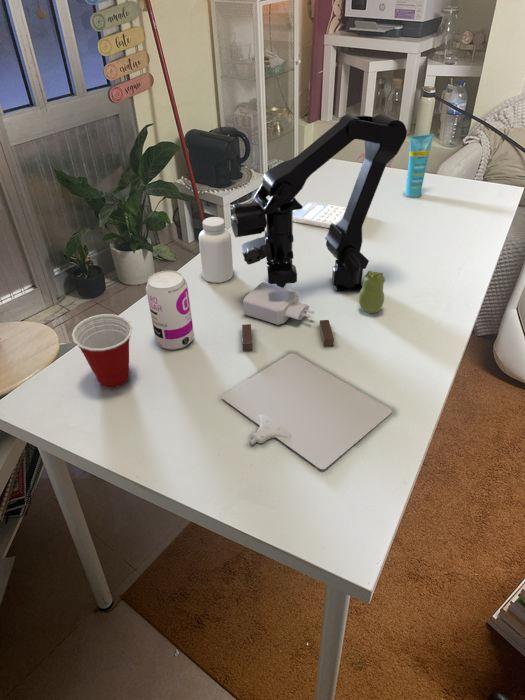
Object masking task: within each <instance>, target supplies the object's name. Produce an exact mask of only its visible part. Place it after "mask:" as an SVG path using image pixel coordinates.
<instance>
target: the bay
mask: <svg viewBox="0 0 525 700" xmlns="http://www.w3.org/2000/svg"><path fill="white" fill-rule="evenodd" d="M318 323H319V324H318V325H319V332H320V336H321V340H322V345H323V347H324V348H327V347H329V348H330V347H334V345H335V344H334V343H335V338H334V334H333V330H332V327H331V322H330V320H329V319H321V320H319V322H318ZM252 336H253V335H252V324H251V323H250V324H249V323H248V324H247V323H246V324H241V342H242V343H241V344H242V352H253V337H252Z"/></svg>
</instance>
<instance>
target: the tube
mask: <svg viewBox="0 0 525 700" xmlns="http://www.w3.org/2000/svg"><path fill="white" fill-rule="evenodd" d="M434 135H435V134H434V133H429V134H422V135H410V137H409V153H408V154H409V155H408V163H407V164H408V166H407V173H406V174H407V175H406V183H405V193H404V195H405V196H406V197H408V198H419V197H420V196H421V194H422V188H423V183H424V178H425V174H426V169H427V166H428V165H427V164H428V160H429V157H430V152H431V147H432V143H433V139H434Z"/></svg>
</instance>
